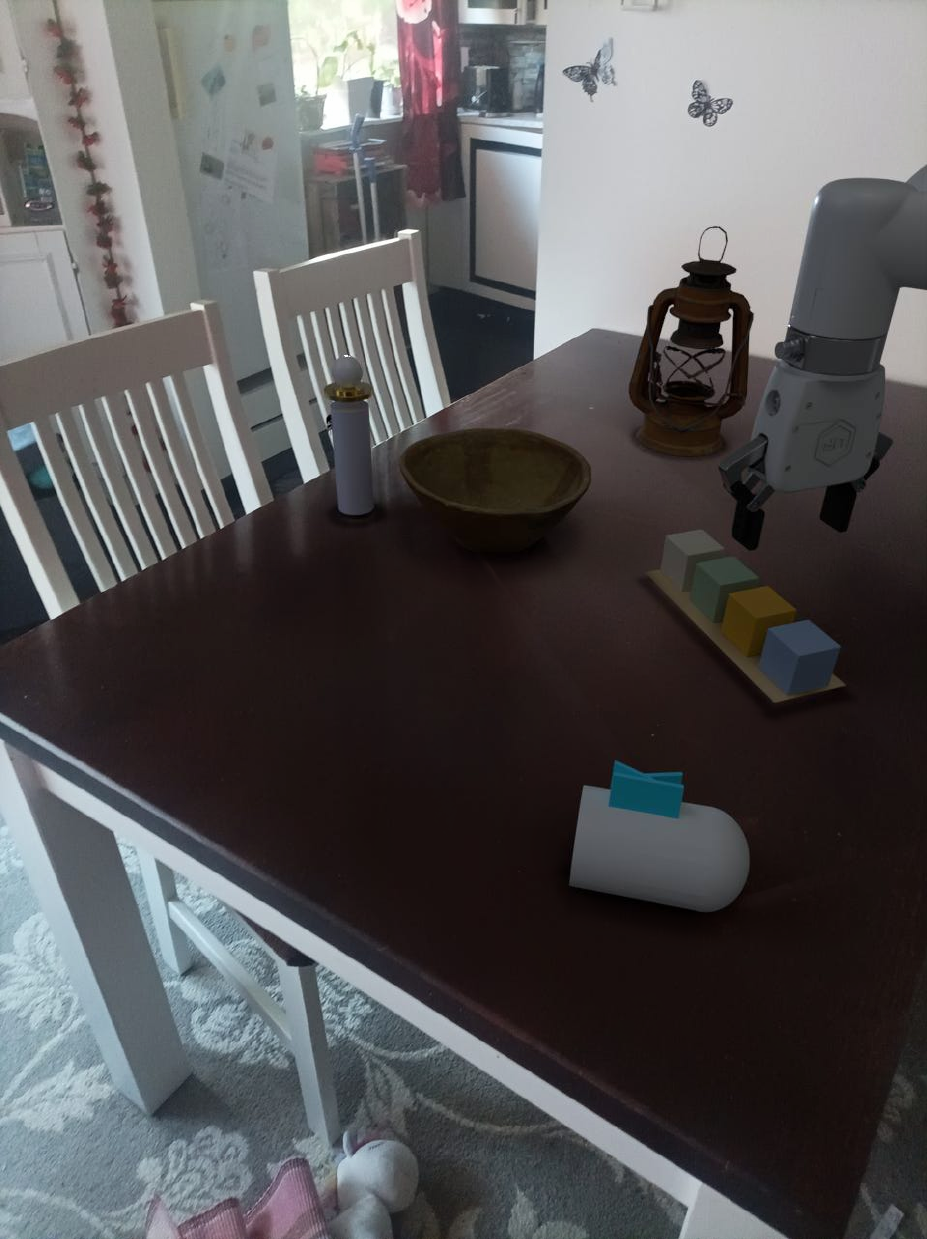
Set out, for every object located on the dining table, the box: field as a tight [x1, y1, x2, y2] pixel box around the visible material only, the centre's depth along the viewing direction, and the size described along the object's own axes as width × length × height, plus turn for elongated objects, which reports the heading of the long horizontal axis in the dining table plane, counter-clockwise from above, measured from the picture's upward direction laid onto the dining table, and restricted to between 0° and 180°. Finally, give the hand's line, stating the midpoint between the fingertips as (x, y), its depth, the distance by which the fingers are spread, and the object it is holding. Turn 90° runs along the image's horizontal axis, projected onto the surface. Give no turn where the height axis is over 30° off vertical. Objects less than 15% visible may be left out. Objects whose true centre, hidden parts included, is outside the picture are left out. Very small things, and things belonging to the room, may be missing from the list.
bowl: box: [398, 427, 592, 555], centre depth 103 cm, size 22×23×10 cm
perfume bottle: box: [323, 355, 375, 516], centre depth 105 cm, size 6×6×20 cm
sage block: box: [690, 556, 760, 623], centre depth 91 cm, size 5×5×5 cm
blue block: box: [758, 619, 842, 696], centre depth 81 cm, size 5×5×5 cm
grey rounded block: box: [568, 759, 751, 913], centre depth 64 cm, size 12×9×12 cm
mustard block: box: [721, 585, 798, 657], centre depth 86 cm, size 5×5×5 cm
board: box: [644, 568, 847, 704], centre depth 90 cm, size 8×24×1 cm, turn 19°
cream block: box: [660, 529, 726, 592], centre depth 95 cm, size 5×5×5 cm
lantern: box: [628, 225, 755, 458], centre depth 123 cm, size 17×13×30 cm
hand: (788, 534), depth 80 cm, fingers open, 9 cm apart
